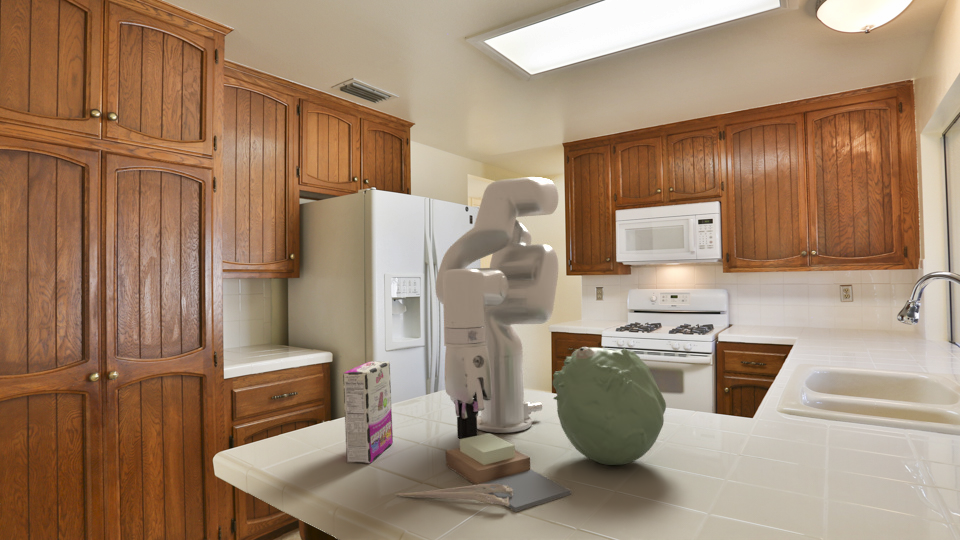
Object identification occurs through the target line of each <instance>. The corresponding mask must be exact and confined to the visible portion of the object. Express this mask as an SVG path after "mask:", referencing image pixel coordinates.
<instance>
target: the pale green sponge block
mask: <svg viewBox="0 0 960 540" xmlns="http://www.w3.org/2000/svg"><path fill="white" fill-rule="evenodd" d="M515 447H516V445H515V444H513V443H511V442H508V441H507V440H504V439H502V438H500V437H499V436H497V435H494V434H492V433H491V432H487V433H484V434H483V433H482V434H479V435H478V434H477V436H473V437H468V438H464V439H459V448H460V451H461V452H463V453H464V454H466V455H468V456H469V457H471V458H473V459H475V460H476V461H478V462H480V463H481V464H483V465H486V464H490V463H494V462H498V461H502V460H506V459H510V458H514V457H515Z"/></svg>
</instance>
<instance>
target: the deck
mask: <svg viewBox="0 0 960 540" xmlns="http://www.w3.org/2000/svg"><path fill="white" fill-rule="evenodd" d="M445 466H446V467H448V468H450V469H451V470H452V469H453V470H452V471H454V472H455V471H456V472H455V473H457V474H459V475H460V476H461V477H463V478H464V479H466V480H467V481H469V482H470V483H471V484H473V485H478V484H480V483H484V482H488V481H491V480H495V479H499V478H502V477H506V476H510V475H513V474H517V473H521V472H524V471H528V470H531V457H530V456H528V455H526V454H524V453H522V452H520V451H518V450H515V457H514V458H510V459H506V460H502V461H498V462H494V463H490V464H486V465H483V464H481V463H480V462H478V461H476V460H475V459H473V458H471V457H469V456H468V455H466V454H464V453H463V452H461V451H460V447H458V448H457V447H456V448H453V449H452V448H451V449H448V450H445Z"/></svg>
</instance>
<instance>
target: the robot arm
mask: <svg viewBox="0 0 960 540" xmlns="http://www.w3.org/2000/svg"><path fill="white" fill-rule="evenodd" d="M558 204H559V192H558V189H557V186H556V185H555V183H554V182H553V181H552V179H551V180H550V179H549V178H543V177H538V176H537V177H535V176H529V177H526V176H525V177H517V178H516V177H515V178H507V179H500V180H495V181H493V182H491V183H490V184H488V185H487V186H486V188H485V189H484V191H483V195H482V198H481V201H480V204H479V208H478V211H477V215H476V218H475V222H474V226H473V227H472V228H471V229H469V230H468V231H466V232H465V233H464V234H462V235H461V236H460V237H459V238H458V239H457V240H456V241H455V242H454V243H452V245H450V247H449V248H448V249H447V250H446V252H445V254H444V255H443V257H442V260H441V261H440V262H441V263H440V266H439V269H438V271H437V276H436V280H435V294H436V298H437V300H438V302H439V303H441V304H442V305H443V338H444V339H443V341H444V346H445V351H444V353H445V355H444V389H445V393H446V395H448V397H449V398H450V400H451V402H452V403H453V404H454V410H455V415H456V416H457V417H456V420H457V421H456V425H457V427H456V428H457V433H456V435H457V439H458V440H460V439H464V438H468V437H473V436H478V430H479V431H483V432H487V433H491V434H492V433H493V434H494V433H497V434H507V433H509V434H510V433H516V432H521V431H525V430H527V429H529V428H530V427H531V426H532V425H533V424H532V423H533V422H532V421H533V420H532V418H531V416H529V415H531V413H535V412H541V411H542V410H543V404H542V403H541V402H540V401H537V402H533V403H530V401H527V402H526V401H525V393H524V391H525V389H524V388H525V387H524V364H523V363H524V358H523V357H524V356H523V343H522V340H521V338H520V337H519V335H518V333H517V332H516V331H515V330H514V328H513V327H512V326H511V325H541V324H545V323H547V322H549V321H550V319H551V317H552V315H553V311H554V306H555V300H556V292H557V291H556V290H557V285H558V277H559V258H558V254H557V252H556V250H555V249H554V248H553V247H551V245H548V244H543V243H542V244H539V243H537V244H532V235H531V233H530V231H529V230H528V229H527V228H526V226H524V224H523V223H521V221H519V220H517V219H516V218H522V217H534V216H535V217H536V216H537V217H538V216H547V215H548V216H549V215H551V214H554V213H555V211H556V209H557V207H558ZM490 255H491V258H490V263H489V267H482V268H481V267H477V268H475V267H470V268H468V266H470V265H471V264H473V263H474V262H476V261H479V260H480V259H483V258H486V257H488V256H490ZM479 412H480V415H479Z"/></svg>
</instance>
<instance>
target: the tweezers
mask: <svg viewBox="0 0 960 540" xmlns="http://www.w3.org/2000/svg"><path fill="white" fill-rule="evenodd" d="M483 487H484V488H485V489H483ZM491 487H496V488H495V489H492V488H491ZM488 493H505V494H509V495H510V496H512V497H513V490H512V489H511V488H509V486H505V485H500V484H478V485H475V484H473V485H466V486H459V487H457V486H456V487H449V488H442V489H436V490H435V489H433V490H426V491H415V492H414V491H413V492H404V493H403V492H398V493H396V496H397V497H405V498H407V497H409V498H433V499H452V500H453V499H454V500H456V499H457V500H466V501H467V500H468V501H477V502H481V503H490V504H496V505H501V506H502V505H503V506H506V507H507V506H509V497H508V498H506V499H502V498H498V497H496V496H495V495H490V494H488Z"/></svg>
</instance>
